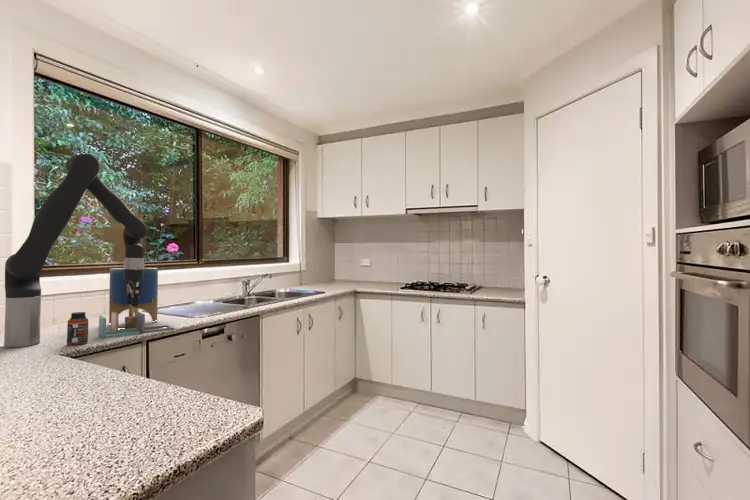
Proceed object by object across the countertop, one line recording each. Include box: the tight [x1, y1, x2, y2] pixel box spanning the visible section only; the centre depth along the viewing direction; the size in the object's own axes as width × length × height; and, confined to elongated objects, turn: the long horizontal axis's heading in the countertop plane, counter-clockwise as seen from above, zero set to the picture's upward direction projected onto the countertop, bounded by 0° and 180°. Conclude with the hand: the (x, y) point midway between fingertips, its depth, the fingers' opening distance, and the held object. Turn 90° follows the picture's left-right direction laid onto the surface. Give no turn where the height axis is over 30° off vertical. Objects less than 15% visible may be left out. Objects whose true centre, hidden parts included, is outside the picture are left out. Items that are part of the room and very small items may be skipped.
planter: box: [108, 267, 159, 324], centre depth 175 cm, size 19×19×26 cm
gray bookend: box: [137, 312, 175, 334], centre depth 157 cm, size 12×9×8 cm
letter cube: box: [124, 315, 137, 329], centre depth 160 cm, size 5×5×5 cm
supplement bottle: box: [66, 311, 89, 346], centre depth 133 cm, size 6×6×11 cm
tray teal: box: [98, 315, 140, 340], centre depth 148 cm, size 12×9×8 cm
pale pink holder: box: [110, 311, 150, 331], centre depth 159 cm, size 12×9×8 cm
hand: (132, 305), depth 160 cm, fingers open, 8 cm apart
